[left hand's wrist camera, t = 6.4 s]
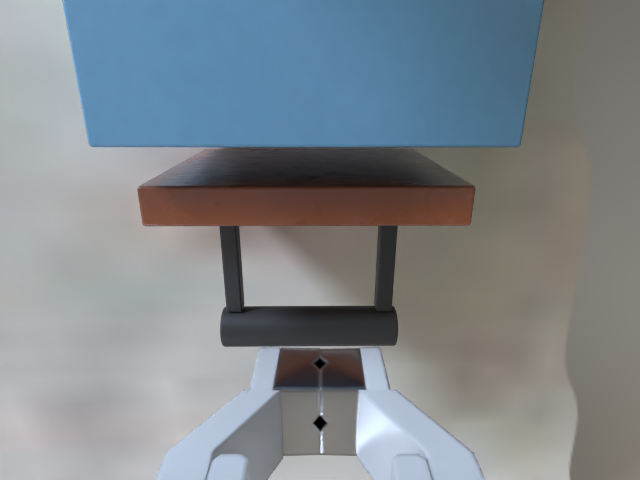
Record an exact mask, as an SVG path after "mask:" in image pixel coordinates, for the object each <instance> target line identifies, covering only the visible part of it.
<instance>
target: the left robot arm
mask: <svg viewBox="0 0 640 480" xmlns="http://www.w3.org/2000/svg"><path fill="white" fill-rule="evenodd" d="M296 455H344V456H357V458H358V460H359V461H360V463H361V464H362V465H363V467H364V468H365V469H366V471H367V472H368V474H369V475H370V476H371V478H372V479H373V480H485V478H484V476H483V473H482V471H481V469H480V466H479V464H478V462H477V459H476V457H475V454H474V452H472V451H471V450H470V449H469V448H467V447H466V446H465V445H464V444H462V443H461V442H460V441H459V440H457V439H456V438H455V437H454V436H453V435H451V434H450V433H449V432H448V431H446V430H445V429H444V428H443V427H441V426H440V425H439V424H438V423H436V422H435V421H434V420H433V419H432V418H430V417H429V416H428V415H427V414H425V413H424V412H423V411H422V410H420V409H419V408H418V407H417V406H415V405H414V404H413V403H412V402H411V401H409V400H408V399H407V398H406V397H404V396H403V395H402V394H401V393H399V392H398V391H397V390H390V386H389V381H388V377H387V373H386V369H385V365H384V360H383V356H382V352H381V349H380V348H379V347H371V348H346V349H320V348H279V347H274V348H260V350H259V352H258V356H257V360H256V364H255V369H254V373H253V377H252V381H251V385H250V390H243V391H242V392H241V393H239V394H238V395H237V396H236V397H234V398H233V399H232V400H231V401H229V402H228V403H227V404H226V405H224V406H223V407H222V408H221V409H220V410H218V411H217V412H216V413H215V414H213V415H212V416H211V417H210V418H208V419H207V420H206V421H205V422H203V423H202V424H201V425H200V426H198V427H197V428H196V429H195V430H193V431H192V432H191V433H190V434H188V435H187V436H186V437H185V438H184V439H182V440H181V441H180V442H179V443H177V444H176V445H175V446H174V447H172V448H171V449H170V450H169V451H167V453H166V455H165V457H164V460H163V462H162V464H161V467H160V469H159V471H158V474H157V476H156V478H155V480H267V479H268V478H269V477H270V475H271V474H272V473H273V471H274V470H275V469H276V467H277V466H278V464H279V463H280V462H281V460H282V459H283V456H296Z"/></svg>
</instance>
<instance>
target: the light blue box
mask: <svg viewBox="0 0 640 480" xmlns="http://www.w3.org/2000/svg"><path fill="white" fill-rule="evenodd" d="M62 1H63V6H64V12H65V17H66V23H67V28H68V33H69V39H70V44H71V50H72V55H73V61H74V66H75V71H76V77H77V82H78V88H79V93H80V99H81V104H82V109H83V115H84V120H85V126H86V131H87V137H88V142H89V145H90V146H92V147H518V146H520V144H521V138H522V132H523V125H524V119H525V113H526V107H527V101H528V95H529V89H530V83H531V77H532V71H533V64H534V58H535V52H536V46H537V40H538V34H539V28H540V22H541V16H542V10H543V3H544V0H62Z"/></svg>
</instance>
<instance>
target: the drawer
mask: <svg viewBox="0 0 640 480" xmlns="http://www.w3.org/2000/svg"><path fill="white" fill-rule="evenodd" d="M474 194H475V187H474V186H473V185H471V184H470V183H468V182H466V181H465V180H463V179H461V178H460V177H458V176H456V175H455V174H453V173H451V172H450V171H448V170H447V169H445V168H443V167H442V166H440V165H438V164H437V163H435V162H433V161H432V160H430V159H428V158H427V157H425V156H423V155H422V154H420V153H419V152H417V151H415V150H413V149H205V150H203V151H202V152H200V153H198V154H196V155H194V156H193V157H191V158H189V159H187V160H185V161H184V162H182V163H180V164H178V165H176V166H175V167H173V168H171V169H169V170H167V171H166V172H164V173H162V174H160V175H158V176H157V177H155V178H153V179H151V180H149V181H148V182H146V183H144V184H142V185H141V186H139V187H138V196H139V203H140V209H141V216H142V223H143V225H144V226H220V237H221V249H222V260H223V272H224V284H225V296H226V307H225V308H224V309H223V312H222V316H221V325H220V335H221V342H222V345H223V346H225V347H242V346H394V345H396V342H397V337H398V321H397V314H396V310H395V308H394V306H392V297H393V282H394V268H395V254H396V239H397V226H465V225H470V223H471V217H472V209H473V202H474ZM239 226H378V243H377V262H376V281H375V300H374V305H375V306H246V307H244V292H243V277H242V262H241V248H240V233H239Z"/></svg>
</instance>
